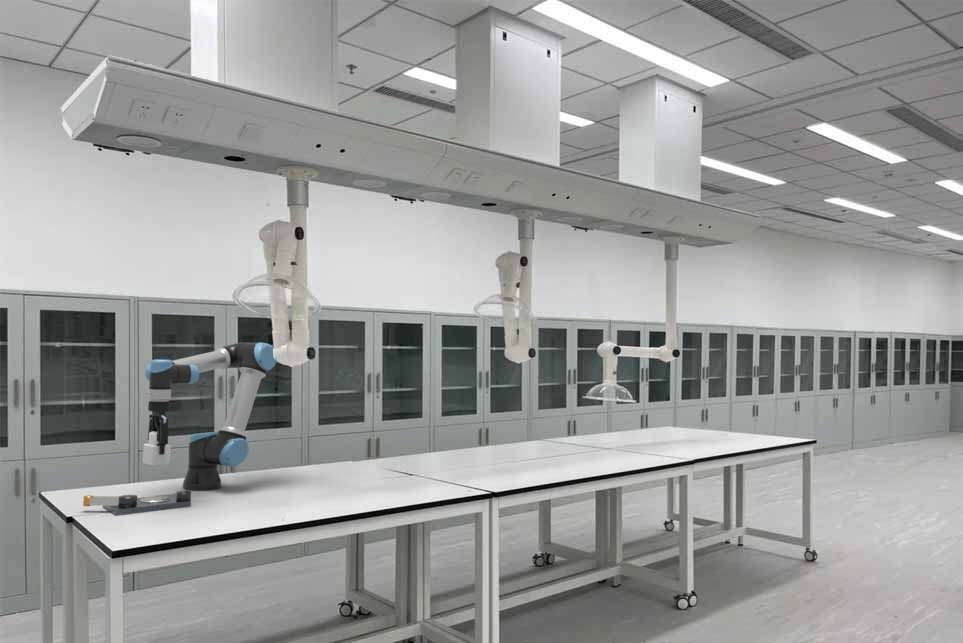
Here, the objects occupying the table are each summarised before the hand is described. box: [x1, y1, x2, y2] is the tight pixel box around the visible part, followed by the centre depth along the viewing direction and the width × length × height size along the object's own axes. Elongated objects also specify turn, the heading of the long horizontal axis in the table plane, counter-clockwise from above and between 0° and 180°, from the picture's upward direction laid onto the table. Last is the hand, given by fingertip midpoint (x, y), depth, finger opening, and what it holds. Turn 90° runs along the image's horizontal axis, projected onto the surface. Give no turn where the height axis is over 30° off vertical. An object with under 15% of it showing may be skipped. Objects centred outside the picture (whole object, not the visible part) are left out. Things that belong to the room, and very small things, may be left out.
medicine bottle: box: [142, 431, 172, 466], centre depth 269 cm, size 7×7×12 cm
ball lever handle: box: [82, 494, 138, 507], centre depth 257 cm, size 18×6×3 cm, turn 96°
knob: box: [175, 490, 192, 502], centre depth 270 cm, size 8×5×3 cm, turn 42°
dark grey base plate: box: [102, 493, 192, 517], centre depth 266 cm, size 26×16×2 cm, turn 132°
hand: (156, 461), depth 269 cm, fingers closed on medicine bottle, 8 cm apart
